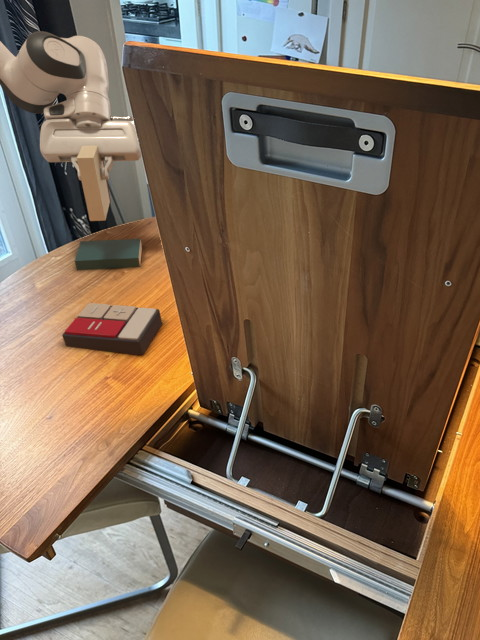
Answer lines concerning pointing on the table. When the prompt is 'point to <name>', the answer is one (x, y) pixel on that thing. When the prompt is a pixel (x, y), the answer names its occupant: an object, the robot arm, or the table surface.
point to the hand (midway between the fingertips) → (93, 178)
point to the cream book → (93, 183)
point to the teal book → (108, 254)
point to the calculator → (113, 328)
